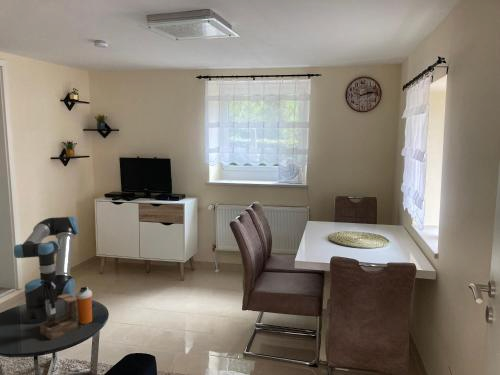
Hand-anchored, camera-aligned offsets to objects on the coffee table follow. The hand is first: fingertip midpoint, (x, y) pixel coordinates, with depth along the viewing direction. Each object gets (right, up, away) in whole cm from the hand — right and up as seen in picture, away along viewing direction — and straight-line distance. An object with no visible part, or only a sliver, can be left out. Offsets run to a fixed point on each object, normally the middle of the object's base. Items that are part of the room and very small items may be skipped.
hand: (51, 312), depth 225 cm
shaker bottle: (+13, -10, +16) cm, 23 cm away
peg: (0, -4, 0) cm, 4 cm away
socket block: (+3, -12, +5) cm, 13 cm away
